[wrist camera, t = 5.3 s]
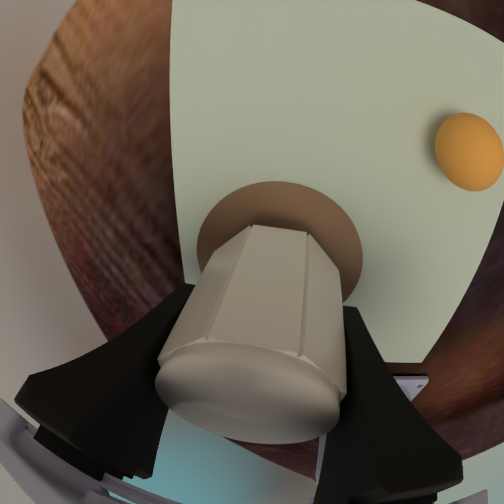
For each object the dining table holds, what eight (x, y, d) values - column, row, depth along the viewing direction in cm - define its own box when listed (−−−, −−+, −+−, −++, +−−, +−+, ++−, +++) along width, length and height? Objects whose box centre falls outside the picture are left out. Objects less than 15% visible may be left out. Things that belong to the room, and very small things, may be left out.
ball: (471, 183, 9) (506, 211, 7) (418, 168, 10) (448, 194, 7) (483, 121, 8) (524, 135, 5) (428, 99, 8) (465, 106, 5)
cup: (320, 331, 13) (313, 450, 8) (215, 314, 13) (172, 423, 8) (348, 238, 10) (369, 381, 5) (211, 219, 11) (133, 339, 6)
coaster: (340, 327, 15) (341, 331, 15) (204, 308, 16) (202, 311, 16) (379, 195, 11) (381, 197, 10) (193, 174, 12) (191, 176, 11)
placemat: (420, 358, 16) (421, 362, 16) (196, 333, 18) (194, 337, 18) (518, 55, 5) (522, 56, 5) (177, -11, 7) (173, -13, 7)
